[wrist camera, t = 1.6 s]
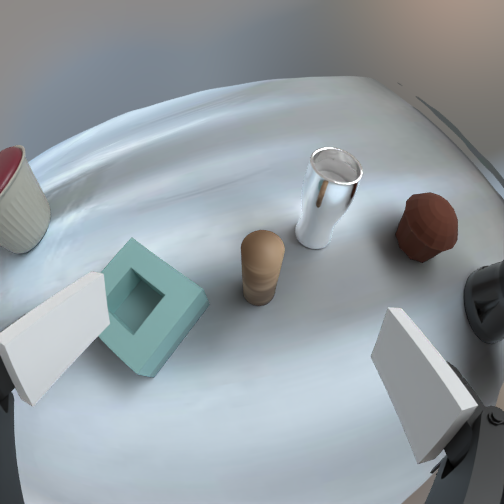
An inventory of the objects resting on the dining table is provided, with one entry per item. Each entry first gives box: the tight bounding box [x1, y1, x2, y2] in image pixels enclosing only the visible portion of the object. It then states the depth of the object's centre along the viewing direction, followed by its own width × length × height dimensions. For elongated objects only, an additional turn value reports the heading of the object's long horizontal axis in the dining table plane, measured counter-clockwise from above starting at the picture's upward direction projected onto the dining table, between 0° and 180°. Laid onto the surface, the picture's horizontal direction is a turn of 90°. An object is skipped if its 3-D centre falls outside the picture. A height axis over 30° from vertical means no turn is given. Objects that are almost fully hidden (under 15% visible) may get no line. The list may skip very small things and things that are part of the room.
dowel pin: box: [241, 230, 285, 306], centre depth 33 cm, size 4×4×12 cm
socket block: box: [98, 238, 210, 378], centre depth 33 cm, size 13×13×6 cm
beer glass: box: [295, 147, 363, 249], centre depth 36 cm, size 7×7×15 cm
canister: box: [0, 145, 51, 254], centre depth 34 cm, size 18×18×21 cm
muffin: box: [395, 192, 458, 263], centre depth 38 cm, size 12×11×10 cm
